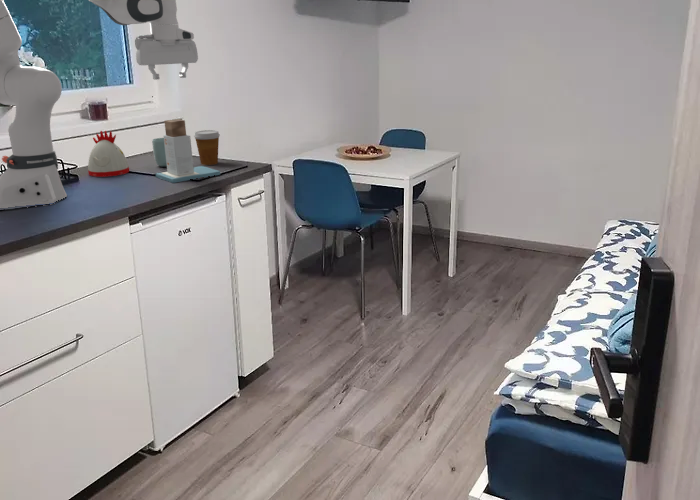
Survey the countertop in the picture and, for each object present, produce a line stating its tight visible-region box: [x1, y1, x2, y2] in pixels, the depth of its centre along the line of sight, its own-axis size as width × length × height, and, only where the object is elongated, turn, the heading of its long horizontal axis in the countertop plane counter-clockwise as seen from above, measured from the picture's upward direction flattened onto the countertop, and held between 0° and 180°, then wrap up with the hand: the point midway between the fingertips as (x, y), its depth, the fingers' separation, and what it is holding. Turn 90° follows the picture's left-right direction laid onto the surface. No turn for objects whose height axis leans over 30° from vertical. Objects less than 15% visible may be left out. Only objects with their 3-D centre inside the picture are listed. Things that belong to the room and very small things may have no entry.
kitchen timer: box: [87, 130, 130, 178], centre depth 227 cm, size 14×14×15 cm
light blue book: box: [155, 165, 221, 184], centre depth 222 cm, size 18×13×1 cm
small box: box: [163, 134, 195, 176], centre depth 218 cm, size 8×6×13 cm
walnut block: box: [163, 118, 187, 137], centre depth 215 cm, size 5×5×5 cm
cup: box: [151, 137, 167, 168], centre depth 237 cm, size 8×8×10 cm
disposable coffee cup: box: [193, 129, 221, 166], centre depth 240 cm, size 10×10×12 cm
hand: (169, 78), depth 209 cm, fingers open, 8 cm apart
